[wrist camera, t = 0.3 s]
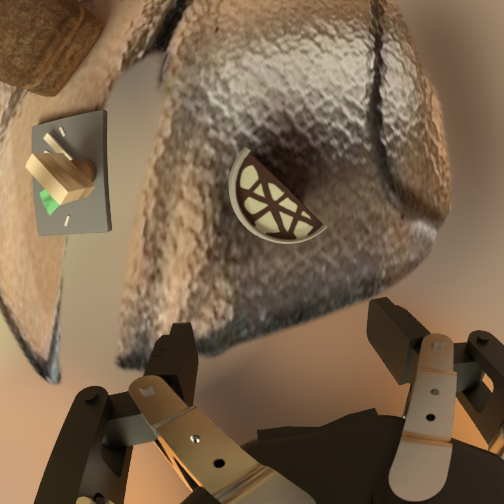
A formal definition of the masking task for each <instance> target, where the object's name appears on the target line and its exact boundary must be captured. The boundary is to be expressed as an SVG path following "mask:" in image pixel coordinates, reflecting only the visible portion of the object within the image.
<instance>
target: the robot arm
mask: <svg viewBox="0 0 504 504" xmlns="http://www.w3.org/2000/svg"><path fill="white" fill-rule="evenodd" d="M367 337H368V340H369V342H370V343H371V345H372V346H373V348H374V349H375V351H376V352H377V354H378V355H379V356H380V358H381V359H382V361H383V362H384V364H385V365H386V367H387V368H388V370H389V371H390V372H391V374H392V375H393V377H394V378H395V380H396V381H397V383H398V384H399V385H402V384H405V383H410V384H411V385H410V388H409V392H408V396H407V399H406V403H405V407H404V410H403V414H402V417H397V416H390V415H378V414H377V412H376V410H375V408H372V409H368V410H365V411H361V412H357V413H353V414H349V415H346V416H344V417H342V418H340V419H337V420H335V421H333V422H331V423H328V424H326V425H324V426H321V427H291V426H287V427H280V428H272V429H264V430H257V433H258V439H255V440H252V441H249V442H247V443H245V444H243V445H241V446H238V445H237V444H236V443H235V442H233V441H232V440H231V439H230V438H229V437H228V436H227V435H225V434H224V433H223V432H222V431H221V430H220V429H219V428H218V427H217V426H216V425H215V424H213V422H211V421H210V420H209V419H208V418H207V417H206V416H205V415H204V414H203V413H202V412H201V411H200V410H199V409H198V408H197V407H196V406H194V405H193V401H194V393H195V385H196V377H197V371H198V352H197V348H196V343H195V339H194V334H193V330H192V326H191V323H190V322H186V323H173V325H172V328H171V331H170V334H169V335H162V336H161V337H160V338H159V339H158V340H157V341H156V343H155V345H154V348H153V351H152V353H151V357H150V359H149V362H148V364H147V367H146V370H145V373H144V375H143V377H140V378H138V379H136V380H135V381H133V382H132V384H131V385H130V386H129V391H127V392H123V393H119V394H113V395H108V392H107V391H106V390H105V389H104V388H103V387H100V386H90V387H87V388H85V389H83V390H82V391H80V392H79V393H78V394H77V396H76V397H75V399H74V401H73V403H72V406H71V408H70V410H69V412H68V415H67V417H66V419H65V422H64V424H63V426H62V428H61V431H60V433H59V436H58V438H57V441H56V443H55V446H54V448H53V450H52V453H51V456H50V458H49V461H48V463H47V466H46V469H45V472H44V475H43V477H42V480H41V483H40V486H39V489H38V492H37V495H36V498H35V501H34V504H124V497H125V491H126V484H127V478H128V472H129V466H130V461H131V455H132V450H133V445H137V444H142V443H147V442H152V441H153V442H154V443H155V445H156V446H157V447H158V449H159V450H160V451H161V453H162V454H163V455H164V457H165V458H166V459H167V461H168V462H169V463H170V464H171V466H172V467H173V468H174V469H175V471H176V472H177V473H178V475H179V476H180V478H181V479H182V480H183V482H184V483H185V484H186V485H187V487H188V488H189V489H190V490H191V492H192V493H191V494H190V495H189V496H188V497H187V498H186V499H185V500H184V501H183V502H182V503H180V504H504V345H503V344H502V343H501V342H500V341H499V340H498V339H497V338H495V337H494V336H493V335H492V334H490V333H489V332H486V331H481V330H478V331H473V332H472V333H470V334H469V337H468V341H467V342H464V343H453V341H452V340H451V339H450V338H449V337H448V336H446V335H443V334H437V333H433V334H431V333H430V332H429V331H428V330H427V329H426V328H425V327H424V326H423V325H421V323H420V322H419V321H417V320H416V318H414V317H413V316H412V315H411V314H410V313H409V312H408V311H407V310H406V309H404V308H402V307H400V306H398V305H396V306H395V305H394V304H393V303H392V302H391V301H390V300H389V299H388V298H387V297H382V298H377V299H372V300H370V302H369V310H368V320H367ZM485 373H486V374H487V375H488V377H489V378H490V379H491V380H492V382H493V385H494V389H493V393H492V392H491V391H490V390H489V389H488V387H487V386H486V385H485V384H484V382H483V381H482V379H483V377H484V374H485ZM456 397H457V399H458V400H459V402H460V403H461V405H462V406H463V407H464V409H465V410H466V412H467V413H468V415H469V416H470V418H471V419H472V421H473V422H474V424H475V425H476V427H477V428H478V430H479V431H480V433H481V434H482V436H483V437H484V439H485V440H486V442H487V444H488V445H489V447H488V451H487V450H484V449H481V448H478V447H475V446H472V445H469V444H467V443H464V442H461V441H459V440H456V439H453V438H451V434H452V427H453V419H454V409H455V398H456Z"/></svg>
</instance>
